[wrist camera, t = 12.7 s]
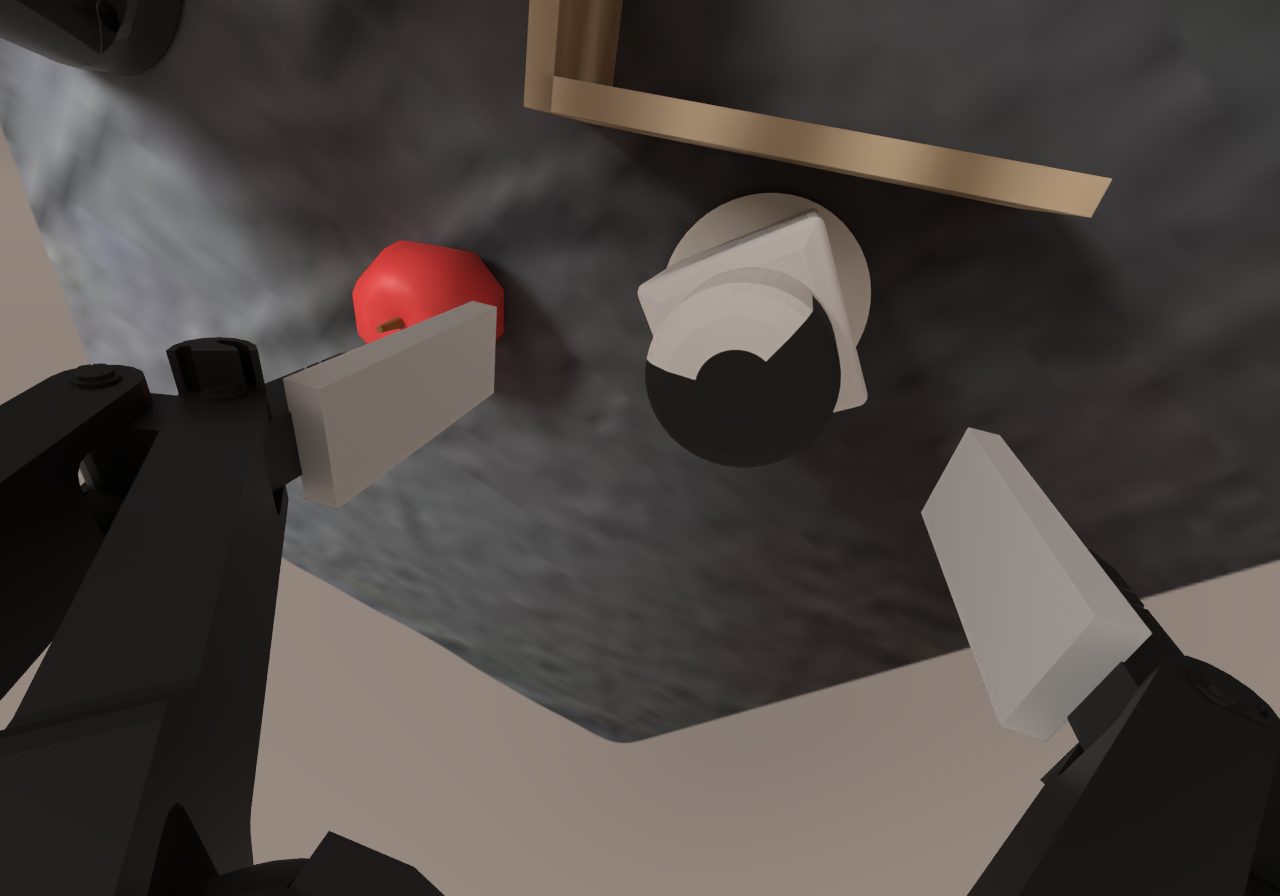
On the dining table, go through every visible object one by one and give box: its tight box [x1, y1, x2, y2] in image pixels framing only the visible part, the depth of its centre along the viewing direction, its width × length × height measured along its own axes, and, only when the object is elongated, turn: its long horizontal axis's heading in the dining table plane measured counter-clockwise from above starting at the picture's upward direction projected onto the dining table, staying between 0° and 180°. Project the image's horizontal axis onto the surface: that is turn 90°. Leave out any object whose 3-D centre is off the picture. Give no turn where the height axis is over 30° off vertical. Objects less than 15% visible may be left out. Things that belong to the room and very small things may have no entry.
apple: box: [352, 240, 504, 344], centre depth 30 cm, size 8×8×8 cm
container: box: [638, 208, 868, 467], centre depth 23 cm, size 8×8×13 cm
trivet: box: [666, 193, 871, 346], centre depth 29 cm, size 11×11×1 cm
